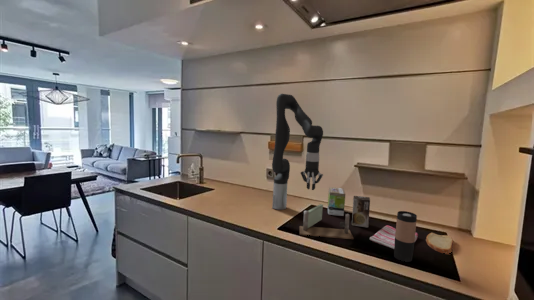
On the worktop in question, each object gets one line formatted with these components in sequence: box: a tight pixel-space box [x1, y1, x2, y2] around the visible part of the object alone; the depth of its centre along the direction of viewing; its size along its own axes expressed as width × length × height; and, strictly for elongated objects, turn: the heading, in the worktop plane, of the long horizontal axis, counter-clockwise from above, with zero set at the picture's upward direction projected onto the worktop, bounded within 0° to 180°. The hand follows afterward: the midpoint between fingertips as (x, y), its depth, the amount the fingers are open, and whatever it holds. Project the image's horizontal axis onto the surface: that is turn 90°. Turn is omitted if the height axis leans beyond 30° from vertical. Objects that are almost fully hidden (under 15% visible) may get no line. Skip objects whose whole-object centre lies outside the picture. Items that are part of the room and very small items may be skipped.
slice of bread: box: [425, 232, 454, 255], centre depth 130 cm, size 18×18×4 cm
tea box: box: [327, 186, 346, 217], centre depth 172 cm, size 15×10×15 cm
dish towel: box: [369, 224, 419, 250], centre depth 134 cm, size 17×23×4 cm
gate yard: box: [298, 210, 355, 240], centre depth 138 cm, size 27×10×11 cm, turn 84°
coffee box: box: [351, 195, 371, 228], centre depth 151 cm, size 9×6×16 cm
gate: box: [308, 203, 324, 228], centre depth 147 cm, size 18×2×9 cm, turn 144°
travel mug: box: [393, 210, 418, 263], centre depth 114 cm, size 8×8×20 cm
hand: (310, 189), depth 153 cm, fingers closed
